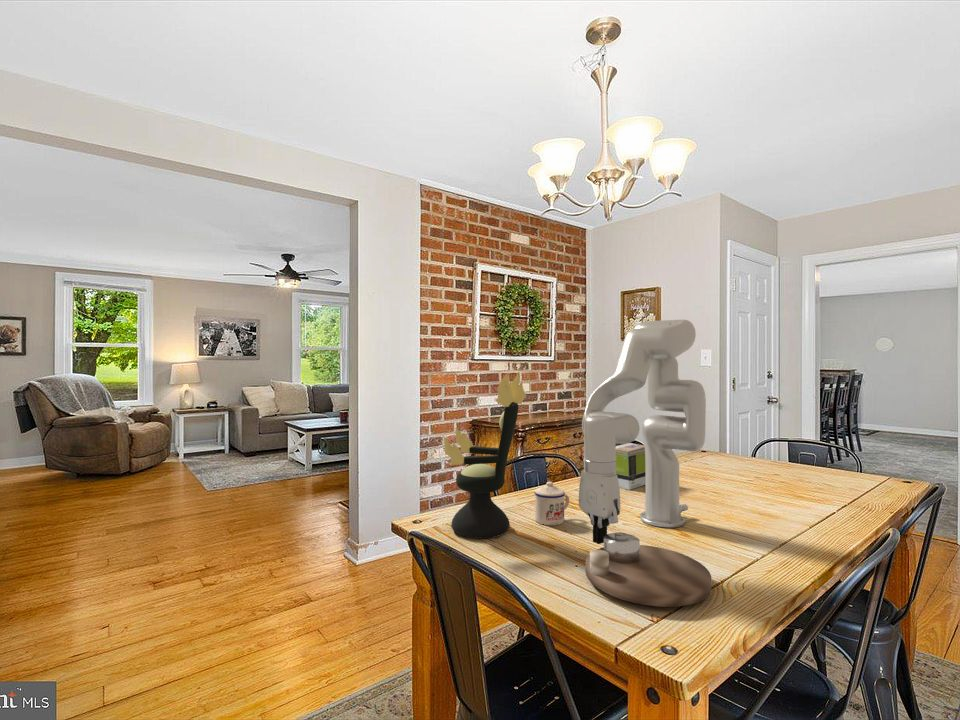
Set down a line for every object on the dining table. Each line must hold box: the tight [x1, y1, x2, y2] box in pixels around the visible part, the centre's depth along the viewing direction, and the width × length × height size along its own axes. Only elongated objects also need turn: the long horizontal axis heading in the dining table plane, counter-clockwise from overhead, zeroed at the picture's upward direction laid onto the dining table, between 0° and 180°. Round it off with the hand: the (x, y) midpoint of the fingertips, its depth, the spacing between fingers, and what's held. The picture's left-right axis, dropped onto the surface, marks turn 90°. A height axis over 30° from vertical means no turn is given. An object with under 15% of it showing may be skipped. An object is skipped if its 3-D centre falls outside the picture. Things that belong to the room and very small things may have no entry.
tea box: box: [616, 442, 645, 491], centre depth 188 cm, size 15×10×15 cm
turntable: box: [585, 544, 712, 608], centre depth 107 cm, size 26×26×6 cm
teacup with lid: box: [534, 481, 570, 526], centre depth 148 cm, size 12×9×12 cm
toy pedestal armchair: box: [443, 372, 527, 539], centre depth 140 cm, size 19×22×45 cm
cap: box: [603, 532, 641, 564], centre depth 113 cm, size 8×8×5 cm
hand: (600, 541), depth 119 cm, fingers closed
